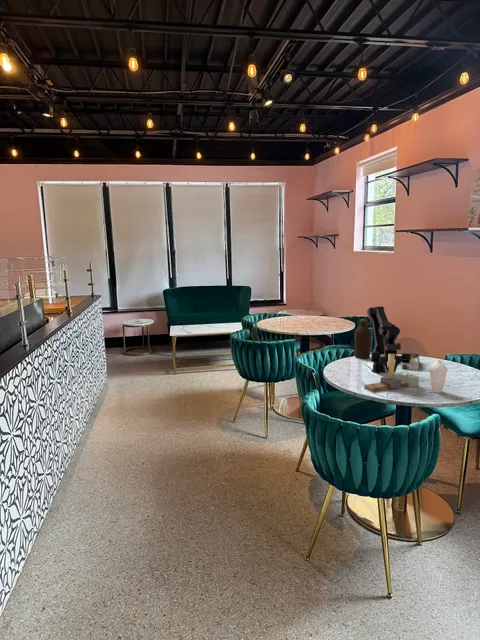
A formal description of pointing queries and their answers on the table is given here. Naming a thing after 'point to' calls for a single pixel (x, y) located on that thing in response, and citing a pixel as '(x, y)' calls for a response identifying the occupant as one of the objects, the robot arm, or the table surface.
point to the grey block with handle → (391, 373)
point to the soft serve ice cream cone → (437, 376)
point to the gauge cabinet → (409, 379)
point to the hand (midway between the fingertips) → (391, 372)
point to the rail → (382, 386)
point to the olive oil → (362, 341)
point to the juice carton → (412, 362)
